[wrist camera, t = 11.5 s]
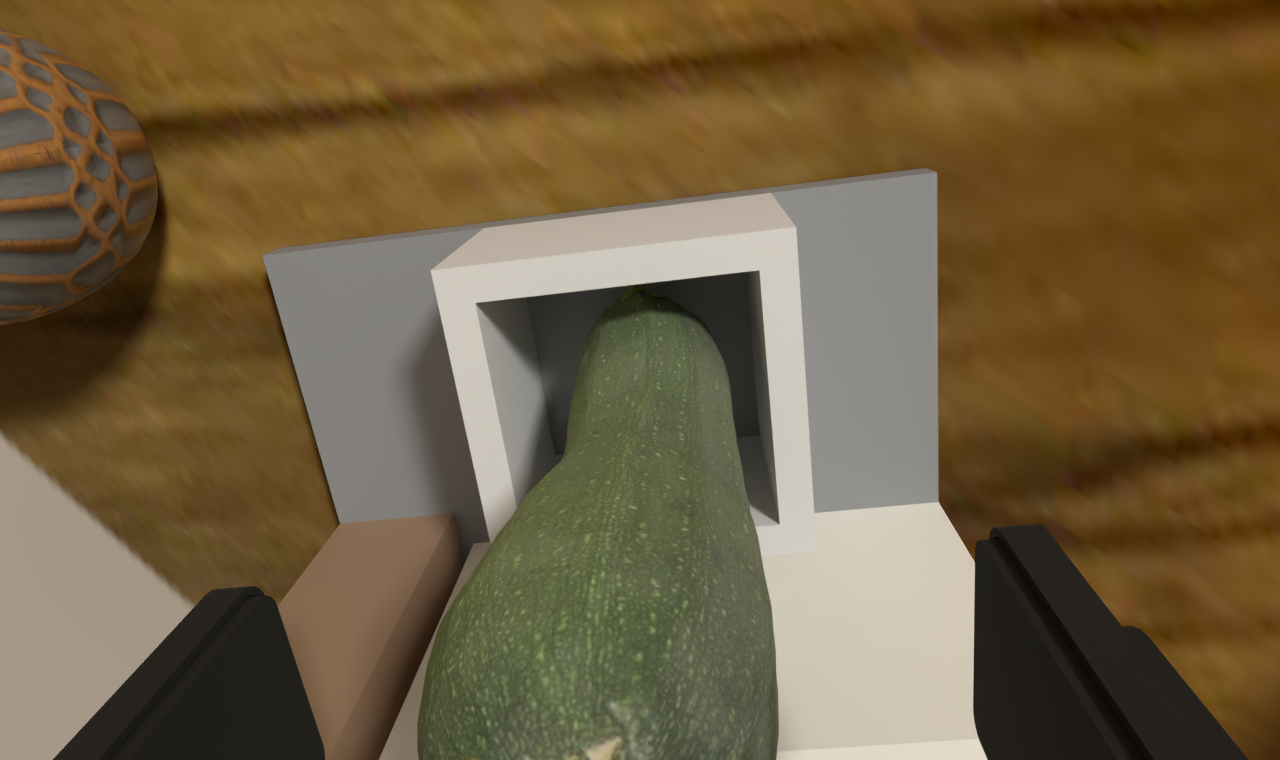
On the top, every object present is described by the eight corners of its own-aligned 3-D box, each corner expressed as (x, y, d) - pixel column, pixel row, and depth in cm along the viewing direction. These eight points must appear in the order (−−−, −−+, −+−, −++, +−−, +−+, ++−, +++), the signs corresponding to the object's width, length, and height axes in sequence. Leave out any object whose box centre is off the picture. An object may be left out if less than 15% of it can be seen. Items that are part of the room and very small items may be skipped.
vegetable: (757, 348, 23) (1124, 1646, 4) (646, 447, 24) (535, 1793, 5) (644, 235, 22) (441, 1256, 3) (534, 343, 23) (-88, 1545, 4)
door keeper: (926, 167, 22) (1235, 288, 10) (929, 556, 26) (1149, 985, 14) (278, 247, 23) (-156, 438, 11) (378, 602, 27) (138, 1023, 15)
